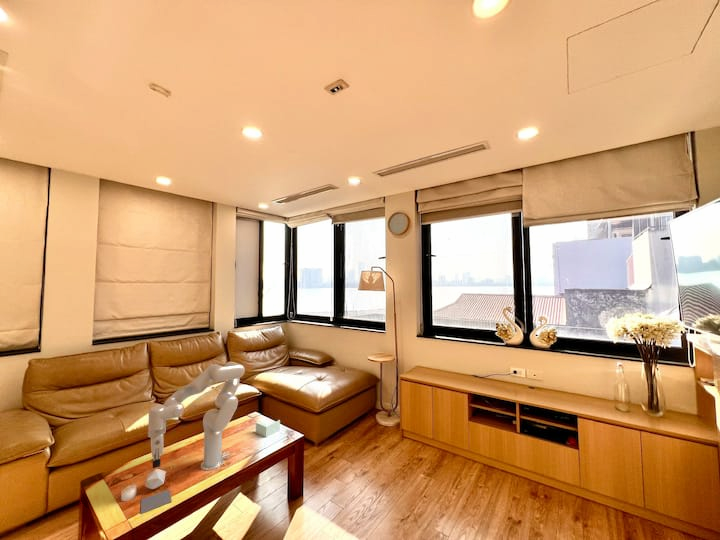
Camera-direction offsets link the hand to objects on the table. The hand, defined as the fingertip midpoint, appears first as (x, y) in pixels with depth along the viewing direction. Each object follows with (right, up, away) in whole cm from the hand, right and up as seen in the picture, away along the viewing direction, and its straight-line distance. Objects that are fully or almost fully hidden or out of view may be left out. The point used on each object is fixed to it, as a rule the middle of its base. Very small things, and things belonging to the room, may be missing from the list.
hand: (156, 466), depth 149 cm
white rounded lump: (-11, -12, -5) cm, 17 cm away
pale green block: (+40, -15, +58) cm, 72 cm away
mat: (+5, -12, -8) cm, 15 cm away
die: (-1, -13, +1) cm, 13 cm away
